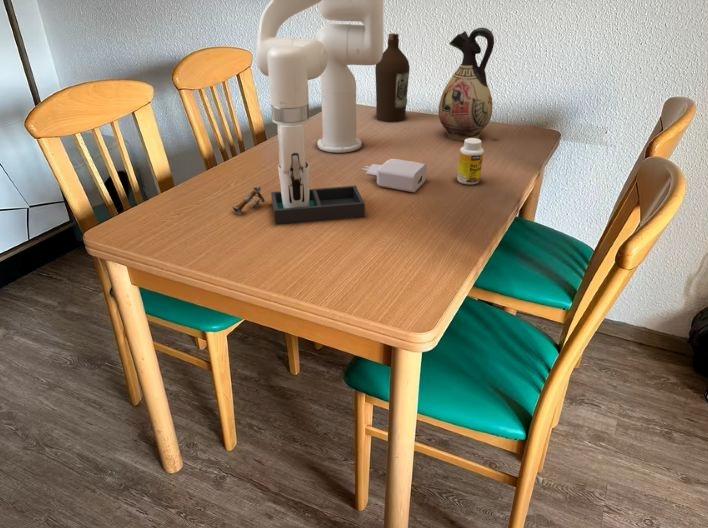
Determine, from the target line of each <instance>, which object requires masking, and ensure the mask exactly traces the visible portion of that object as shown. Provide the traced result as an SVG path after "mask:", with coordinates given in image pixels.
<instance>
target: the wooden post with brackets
mask: <svg viewBox="0 0 708 528" xmlns="http://www.w3.org/2000/svg"><path fill="white" fill-rule="evenodd" d="M261 188H262V186H261V185H258V186H257V185H255V186H254V187H253V189H252V191H251V192H250V193H248V194H247V195H245V197H244V198H243V200H242V201H241V202H240V203H238V204H237V205H235V206H234V205H232V206H231V207H232V209H233V210H234V212H235V213H236V214H238V215H241V214H242V212H241V211H242V210H243V209H244V208H245V207H246V205H247V204H249V203H250V202H251V201H252V200H253V199H254V197H256V198H257V197H258V199H257V200H255V199H254V201H253V202H252V203H251V208H253V209H254V208H255V209H256V208H257V207H258V206H260V202H261V203H262V204H263V203H265V202H266V200H265V198H264V197H263V195H262V194H261Z"/></svg>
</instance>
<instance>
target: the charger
mask: <svg viewBox="0 0 708 528" xmlns="http://www.w3.org/2000/svg"><path fill="white" fill-rule="evenodd" d="M361 170H362V171H365V172H366V173H365V174H366V175H367V176H369V177H376V184H377V185H378V187H382V188H387V189H394V190H398V191H402V192H403V191H404V192H408V193H415V192H416V191H417V190H418V189H419V188H420V187H421V186H422V185H423V184H425V181H426V179H427V170H428V164H427V163H424V162H417V161H412V160H411V161H410V160H404V159H399V158H390V159H387V160H386V161H385V162H384V163H383V164H377V163H372V164H370V165H369V166H368V165H364V168H361Z"/></svg>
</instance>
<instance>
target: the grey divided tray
mask: <svg viewBox="0 0 708 528" xmlns="http://www.w3.org/2000/svg"><path fill="white" fill-rule="evenodd" d="M358 189H359V188H358V187H357V185H344V186H332V187H319V188H318V187H317V188H309V206H308V207H295V208H283V202H282V194H281V190H279V191H271V192H270V194H271V207H272V213H273V218H274V224H275V225H283V224H295V223H308V222H320V221H321V222H322V221H332V220H343V219H355V218H365V214H366V213H365V212H366V211H365V206H366V205H365V201H364V199H363V197H362V195H361V193H360V191H359V190H358Z"/></svg>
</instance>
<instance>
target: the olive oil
mask: <svg viewBox="0 0 708 528" xmlns="http://www.w3.org/2000/svg"><path fill="white" fill-rule="evenodd" d="M399 36H400V34H399V33H395V32H394V33H393V32H392V33H388V35H387V37H388V38H387V48H386V49H385V50H383V56H382V59H381V61H380V62H379V63H378V64H376V65H375V67H374V69H375V72H374V73H375V109H376V110H375V112H376V119H377V120H379V121H383V122H387V123H388V122H401V121H403V120H405V119H406V111H407V105H408V90H409V79H410V63H409V59H408V58H407V56H406V55H405V54H404V53H403V51H402V50H401V49H400V38H399Z"/></svg>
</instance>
